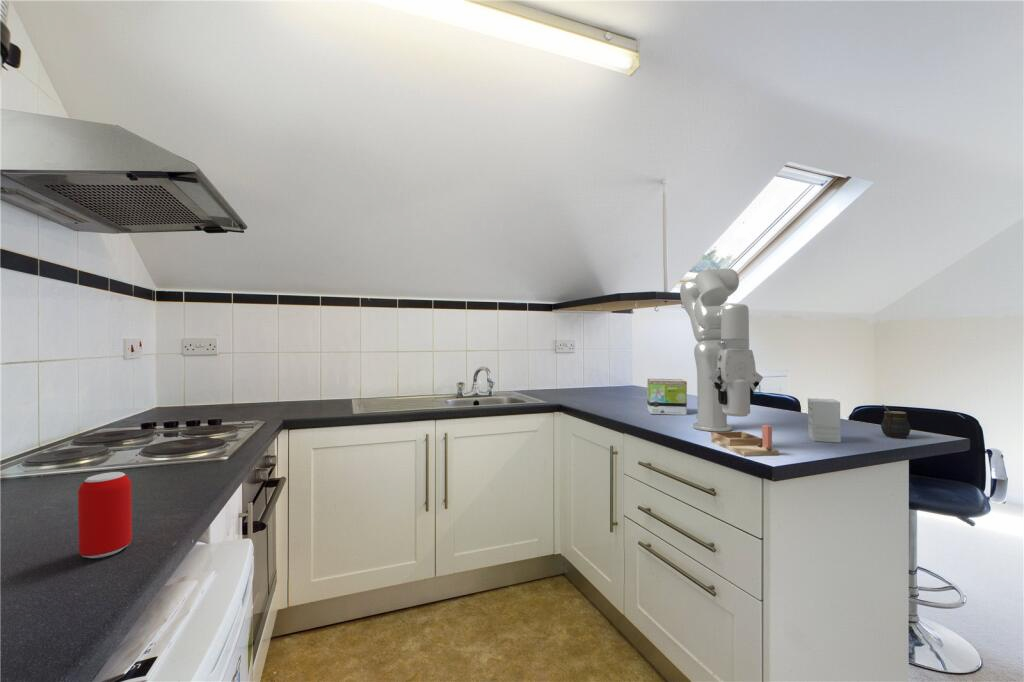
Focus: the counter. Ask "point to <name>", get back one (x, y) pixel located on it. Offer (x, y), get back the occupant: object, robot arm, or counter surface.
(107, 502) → the beverage can
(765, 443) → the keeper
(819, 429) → the supplement box
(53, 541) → the counter surface
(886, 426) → the mate gourd
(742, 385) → the can
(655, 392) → the tea box
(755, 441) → the base
